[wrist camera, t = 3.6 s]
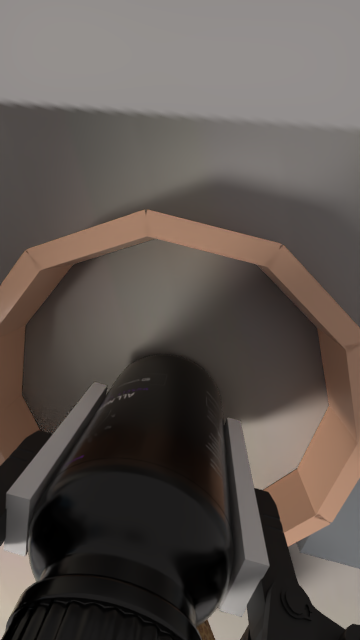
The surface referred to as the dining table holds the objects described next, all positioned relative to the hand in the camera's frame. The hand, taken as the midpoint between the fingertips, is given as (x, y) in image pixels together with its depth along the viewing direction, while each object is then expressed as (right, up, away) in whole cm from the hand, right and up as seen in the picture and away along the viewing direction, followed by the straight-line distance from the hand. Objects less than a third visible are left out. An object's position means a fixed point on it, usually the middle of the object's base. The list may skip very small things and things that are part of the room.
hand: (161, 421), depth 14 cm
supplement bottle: (0, +1, +2) cm, 2 cm away
